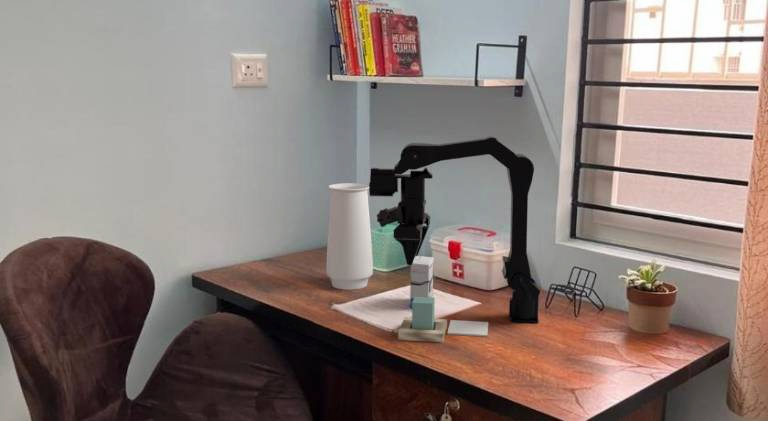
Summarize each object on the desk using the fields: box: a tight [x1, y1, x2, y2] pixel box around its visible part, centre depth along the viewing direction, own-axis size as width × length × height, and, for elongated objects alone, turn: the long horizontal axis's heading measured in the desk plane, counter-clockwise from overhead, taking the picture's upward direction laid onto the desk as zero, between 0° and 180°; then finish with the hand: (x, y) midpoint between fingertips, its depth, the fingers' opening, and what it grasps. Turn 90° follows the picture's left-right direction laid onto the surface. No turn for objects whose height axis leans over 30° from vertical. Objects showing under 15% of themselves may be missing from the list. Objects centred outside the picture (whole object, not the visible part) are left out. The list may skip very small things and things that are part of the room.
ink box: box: [409, 255, 434, 309], centre depth 193 cm, size 8×5×12 cm, turn 168°
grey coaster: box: [446, 319, 489, 338], centre depth 175 cm, size 9×9×1 cm
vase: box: [325, 182, 374, 291], centre depth 209 cm, size 13×13×28 cm
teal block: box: [411, 297, 435, 330], centre depth 172 cm, size 4×4×8 cm
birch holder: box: [397, 316, 448, 344], centre depth 172 cm, size 10×10×2 cm
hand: (412, 260), depth 182 cm, fingers open, 9 cm apart
